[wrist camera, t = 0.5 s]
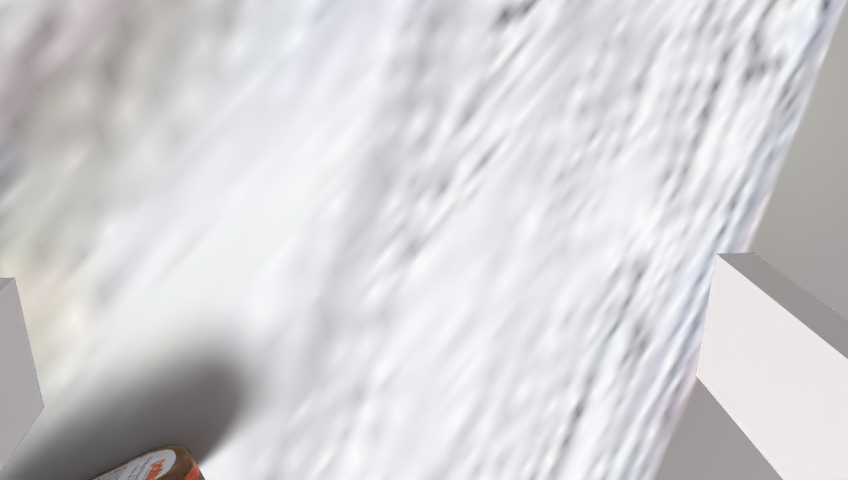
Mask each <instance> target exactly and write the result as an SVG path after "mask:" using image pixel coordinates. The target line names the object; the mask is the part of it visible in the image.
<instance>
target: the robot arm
mask: <svg viewBox="0 0 848 480" xmlns="http://www.w3.org/2000/svg"><path fill="white" fill-rule="evenodd" d="M696 376H697V377H698V378H699V379H700V380H701V382H702V383H703V384H704V385H705V386H706V387H707V389H708V390H709V391H710V392H711V394H712V395H713V396H714V397H715V398H716V400H718V402H719V403H720V404H721V406H722V407H723V408H724V409H725V410H726V412H727V413H728V414H729V415H730V416H731V418H732V419H733V420H734V421H735V422H736V424H737V425H738V426H739V427H740V428H741V430H742V431H743V432H744V433H745V434H746V435H747V437H748V438H749V439H750V440H751V441H752V443H753V444H754V445H755V446H756V447H757V449H758V450H759V451H760V452H761V453H762V455H763V456H764V457H765V458H766V460H767V461H768V462H769V463H770V464H771V466H772V467H773V468H774V469H775V470H776V472H777V473H778V474H779V475H780V476H781V477H782V479H783V480H848V321H847V320H846V319H844V318H843V317H842V316H840V315H839V314H838V313H836V312H835V311H833V310H832V309H831V308H829V307H828V306H827V305H825V304H824V303H822V302H821V301H820V300H818V299H817V298H816V297H814V296H813V295H811V294H810V293H809V292H807V291H805V290H804V289H803V288H802V287H800V286H799V285H798V284H796V283H795V282H794V281H792V280H791V279H789V278H788V277H787V276H785V275H784V274H782V273H781V272H780V271H778V270H777V269H776V268H774V267H773V266H771V265H770V264H768V263H767V262H766V261H765V260H763V259H762V258H760V257H759V256H758V255H756V254H755V253H727V254H716V259H715V265H714V271H713V277H712V283H711V289H710V295H709V301H708V307H707V313H706V319H705V325H704V331H703V337H702V343H701V349H700V355H699V361H698V367H697V373H696ZM43 408H44V405H43V401H42V396H41V392H40V387H39V383H38V379H37V374H36V370H35V365H34V361H33V356H32V352H31V347H30V343H29V339H28V334H27V330H26V325H25V321H24V316H23V312H22V308H21V303H20V299H19V294H18V290H17V285H16V281H15V278H0V471H1V470H2V468H3V467H4V465H5V464H6V463H7V461H8V460H9V458H10V457H11V455H12V454H13V452H14V451H15V449H16V448H17V446H18V445H19V444H20V442H21V441H22V439H23V438H24V436H25V435H26V433H27V432H28V430H29V429H30V427H31V426H32V424H33V423H34V422H35V420H36V419H37V417H38V416H39V414H40V413H41V411H42V410H43Z"/></svg>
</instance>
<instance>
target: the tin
mask: <svg viewBox="0 0 848 480" xmlns="http://www.w3.org/2000/svg"><path fill="white" fill-rule="evenodd" d="M89 480H205V479H204V477H203V475H202V473H201V471H200V470H199V468H198V466H197V464H196V462H195V460H194V458H193V457H192V455H191V454H190V452H189V451H188V450H187V449H186V448H184V447H182V446H178V445H173V446H166V447H162V448H159V449H156V450H153V451H150V452H147V453H145V454H142V455H140V456H138V457H136V458H134V459H131V460H129V461H127V462H125V463H123V464H121V465H119V466H117V467H115V468H112V469H110V470H108V471H106V472H104V473H102V474H100V475H98V476H95V477H93V478H91V479H89Z"/></svg>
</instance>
